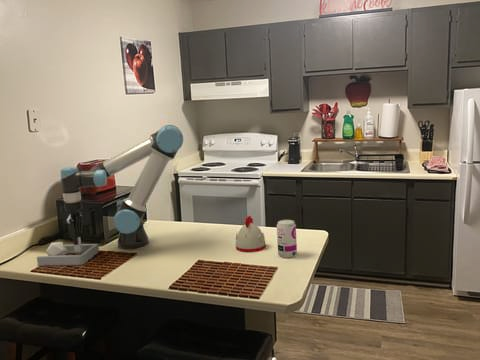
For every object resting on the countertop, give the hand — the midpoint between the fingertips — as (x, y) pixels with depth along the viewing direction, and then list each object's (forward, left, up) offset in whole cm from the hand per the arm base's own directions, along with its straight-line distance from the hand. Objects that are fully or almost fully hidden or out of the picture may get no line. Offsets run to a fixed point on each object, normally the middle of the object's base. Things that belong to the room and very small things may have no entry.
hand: (78, 250), depth 207 cm
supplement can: (-96, +3, -4) cm, 97 cm away
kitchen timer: (-79, -9, -4) cm, 80 cm away
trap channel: (+6, 0, -4) cm, 7 cm away
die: (+11, 0, -4) cm, 11 cm away
